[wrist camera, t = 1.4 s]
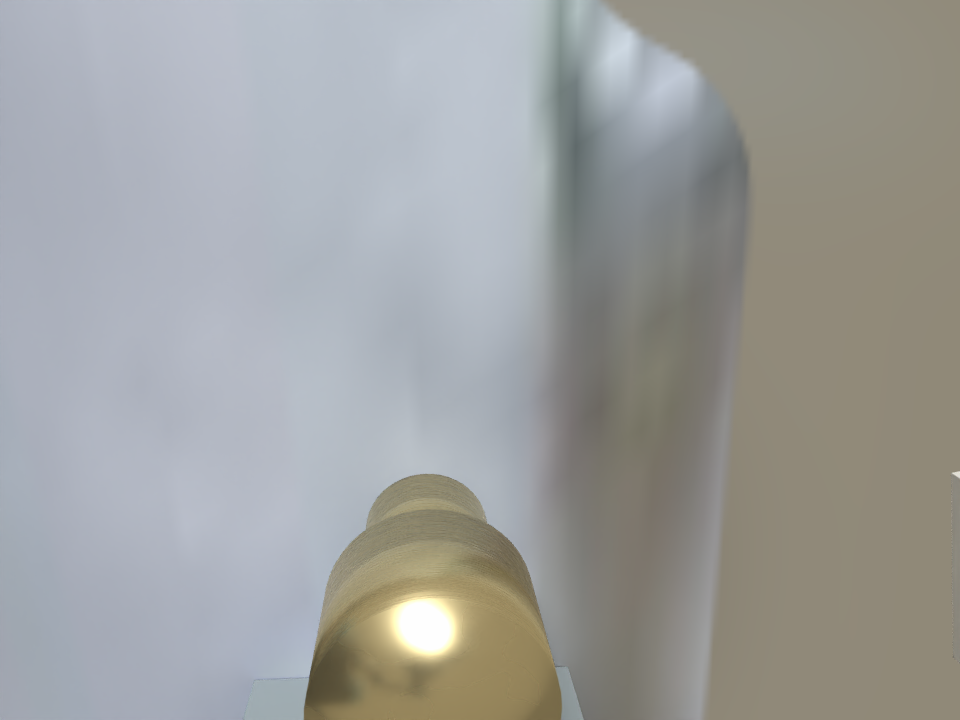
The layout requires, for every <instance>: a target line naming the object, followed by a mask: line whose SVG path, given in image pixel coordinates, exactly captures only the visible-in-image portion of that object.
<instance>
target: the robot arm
mask: <svg viewBox="0 0 960 720" xmlns="http://www.w3.org/2000/svg"><path fill="white" fill-rule="evenodd" d="M951 479H952V480H951V481H952V587H953V589H952V591H953V592H952V594H953V658H954V659H955V660H957V661H958V662H959V663H960V471H959V472H954V473H951Z"/></svg>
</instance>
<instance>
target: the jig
mask: <svg viewBox="0 0 960 720" xmlns="http://www.w3.org/2000/svg"><path fill="white" fill-rule="evenodd" d="M555 669H556V673H557V677H558V681H559V685H560V690H561V697H562V714H561V720H583V716H582V713H581V710H580V706H579V703H578V699H577V696H576V693H575V689H574V686H573V683H572V679H571V676H570V673H569V669H568V667H555ZM308 682H309V678H295V679H272V680H254V683H253V687H252V690H251V694H250V697H249V701H248V704H247V708H246V711H245V715H244V718H243V720H304V705H305V698H306V692H307V687H308Z"/></svg>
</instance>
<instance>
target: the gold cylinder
mask: <svg viewBox="0 0 960 720" xmlns="http://www.w3.org/2000/svg"><path fill="white" fill-rule="evenodd" d="M561 714H562V697H561V690H560V685H559V681H558V677H557V673H556V669H555V666H554V662H553V658H552V655H551V651H550V647H549V644H548V640H547V636H546V633H545V629H544V625H543V622H542V618H541V614H540V611H539V607H538V603H537V600H536V596H535V592H534V589H533V585H532V581H531V578H530V574H529V572H528V569H527V566H526V564H525V562H524V560H523V558H522V557H521V555H520V553H519V552H518V550H517V549H516V548H515V547H514V545H513V544H512V543H511V542H510V541H509V540H508V539H507V538H506V537H505V536H504V535H503V534H502V533H501V532H499V531H498V530H496V529H495V528H494V527H492V526H491V525H489V524H487V522H486V517H485V513H484V510H483V508H482V505H481V504H480V502H479V500H478V499H477V497H476V496H475V495H474V493H472V492H471V491H470V490H469V489H468V488H467V487H466V486H464V485H463V484H462V483H460V482H458V481H456V480H454V479H452V478H449V477H446V476H442V475H436V474H420V475H414V476H410V477H407V478H404V479H401V480H399V481H397V482H395V483H394V484H392V485H391V486H389V487H388V488H387V489H386V490H384V491H383V492H382V493H381V494H380V496H379V497H378V498H377V499H376V501H375V502H374V504H373V506H372V508H371V510H370V512H369V515H368V519H367V525H366V530H365V531H364V532H362V533H361V534H360V535H359V536H358V537H357V538H355V539H354V540H353V541H352V542H351V543H350V544H349V545H348V546H347V548H346V549H345V550H344V551H343V552H342V554H341V555H340V557H339V558H338V560H337V561H336V563H335V565H334V567H333V569H332V572H331V574H330V576H329V580H328V583H327V586H326V591H325V597H324V602H323V607H322V613H321V618H320V623H319V628H318V634H317V639H316V644H315V650H314V655H313V660H312V666H311V671H310V676H309V682H308V687H307V692H306V698H305V705H304V720H561Z"/></svg>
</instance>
